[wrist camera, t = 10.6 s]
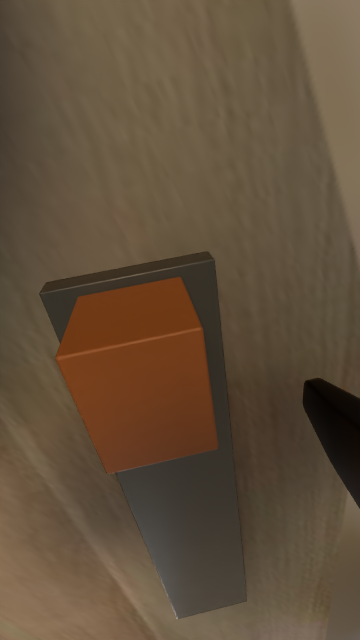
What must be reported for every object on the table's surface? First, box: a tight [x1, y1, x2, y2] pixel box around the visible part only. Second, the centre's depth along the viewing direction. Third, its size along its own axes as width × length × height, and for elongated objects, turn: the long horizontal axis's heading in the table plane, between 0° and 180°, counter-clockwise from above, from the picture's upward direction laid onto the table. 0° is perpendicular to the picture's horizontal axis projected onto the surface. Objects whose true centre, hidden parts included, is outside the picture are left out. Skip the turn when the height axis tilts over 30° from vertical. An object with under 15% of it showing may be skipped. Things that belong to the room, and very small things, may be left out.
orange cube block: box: [56, 277, 218, 474], centre depth 10 cm, size 5×4×4 cm
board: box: [39, 252, 247, 619], centre depth 18 cm, size 30×6×1 cm, turn 9°
